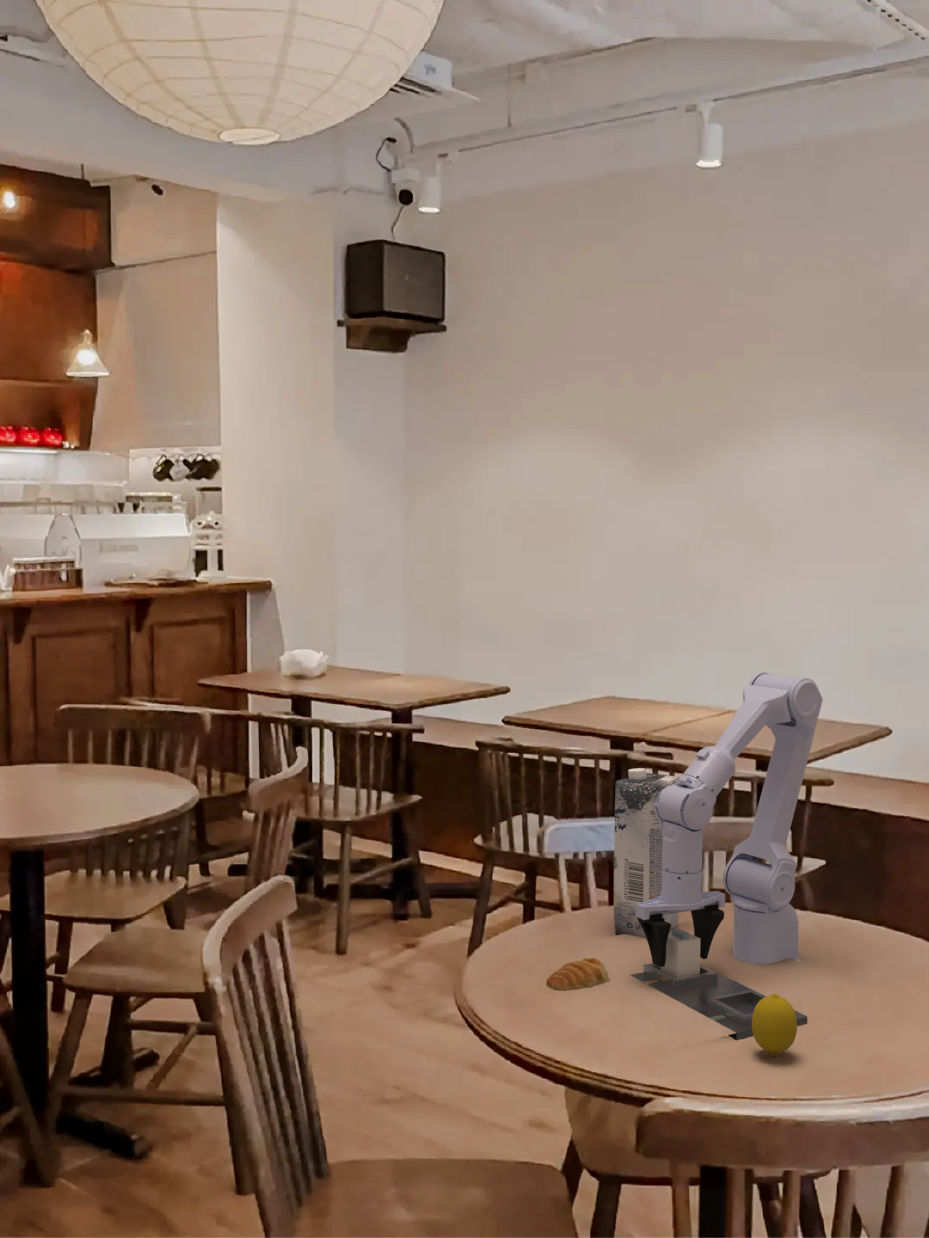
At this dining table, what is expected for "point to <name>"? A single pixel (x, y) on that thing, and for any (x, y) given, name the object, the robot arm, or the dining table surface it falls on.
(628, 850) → the juice carton
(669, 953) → the plug
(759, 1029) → the lemon
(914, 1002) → the dining table surface
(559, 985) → the pastry
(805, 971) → the dining table surface
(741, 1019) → the panel
